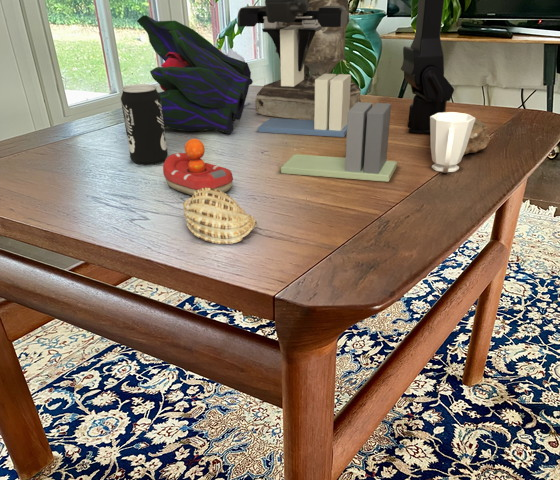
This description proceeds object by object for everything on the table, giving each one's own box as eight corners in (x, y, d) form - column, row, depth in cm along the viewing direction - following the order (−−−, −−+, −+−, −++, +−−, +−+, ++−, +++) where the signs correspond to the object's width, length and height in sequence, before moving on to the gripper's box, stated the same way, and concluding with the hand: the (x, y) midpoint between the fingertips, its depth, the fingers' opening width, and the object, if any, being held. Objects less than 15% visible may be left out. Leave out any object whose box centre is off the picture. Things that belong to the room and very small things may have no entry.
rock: (489, 162, 99) (495, 131, 96) (425, 159, 102) (429, 128, 99) (486, 141, 110) (491, 113, 107) (428, 139, 112) (431, 111, 109)
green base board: (396, 167, 98) (402, 103, 92) (388, 182, 92) (394, 114, 86) (294, 159, 103) (294, 98, 97) (280, 173, 97) (279, 108, 91)
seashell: (248, 241, 81) (181, 210, 80) (265, 203, 78) (196, 170, 76) (240, 265, 75) (167, 232, 73) (258, 225, 72) (182, 189, 70)
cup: (466, 163, 99) (475, 112, 94) (467, 181, 91) (476, 127, 87) (424, 161, 101) (430, 111, 96) (422, 179, 93) (428, 125, 88)
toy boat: (193, 176, 96) (188, 127, 92) (241, 191, 90) (238, 139, 85) (156, 187, 92) (148, 137, 87) (204, 204, 85) (199, 151, 81)
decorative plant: (221, 185, 121) (89, 138, 123) (265, 108, 132) (144, 66, 134) (223, 99, 102) (68, 45, 104) (274, 19, 114) (133, -29, 116)
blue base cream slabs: (352, 127, 121) (355, 74, 115) (343, 137, 114) (346, 81, 109) (270, 122, 125) (269, 71, 119) (258, 131, 119) (256, 78, 113)
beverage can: (160, 167, 101) (150, 91, 94) (125, 165, 102) (112, 90, 95) (173, 156, 106) (164, 84, 99) (139, 154, 107) (128, 83, 100)
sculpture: (254, 114, 132) (247, -49, 114) (294, 101, 143) (293, -50, 125) (323, 124, 123) (328, -51, 106) (361, 109, 134) (371, -52, 117)
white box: (303, 79, 111) (304, 25, 106) (293, 86, 106) (293, 29, 100) (291, 79, 112) (290, 25, 106) (280, 86, 106) (279, 29, 101)
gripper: (223, -29, 95) (230, 77, 104) (335, -32, 90) (332, 80, 99) (246, -32, 103) (250, 67, 112) (349, -34, 99) (345, 69, 108)
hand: (292, 70), depth 108 cm, fingers closed on white box, 2 cm apart
